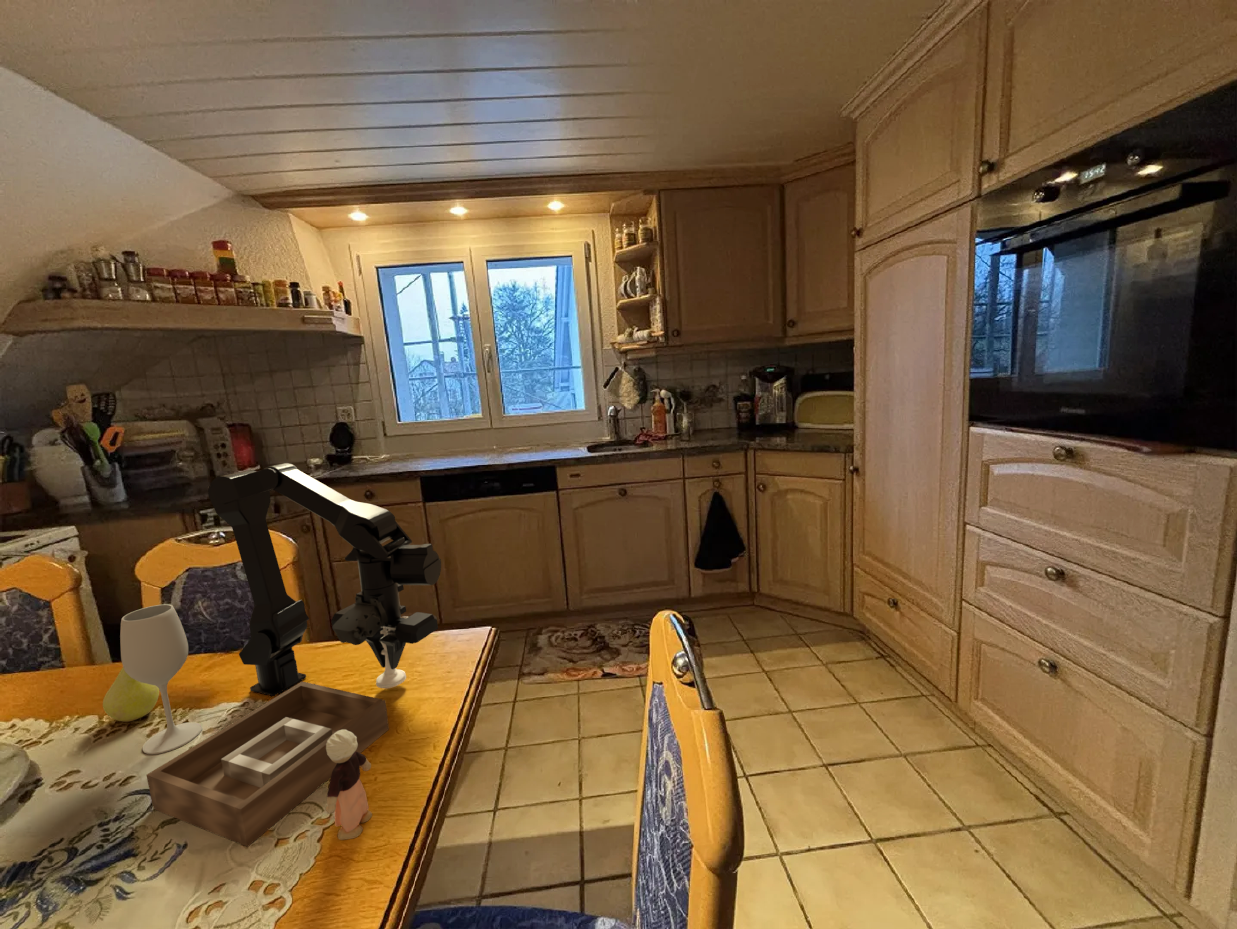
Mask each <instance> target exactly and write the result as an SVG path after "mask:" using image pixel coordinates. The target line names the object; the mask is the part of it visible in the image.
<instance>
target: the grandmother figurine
mask: <svg viewBox="0 0 1237 929" xmlns="http://www.w3.org/2000/svg"><path fill="white" fill-rule="evenodd" d="M357 747H358V743H357V737H356V736H355V735H354V734H353V733H352V732H350V731H347V730H339V731H337V732H335V733H334V734H333V735H332V736H331V737H330V738H329V740H328V741H327V744H326V751H327V755H328V756H329V757H330V759H331V760H332V761H333V762H335V763H337V764H336V766H335V768H334V769H333V771H332V774H331V778H330V780H329V785H328V789H327V793H326V794H327V795H326V797H327V798H326V807H325V812H326V814H333V813H334V826H335V827H337V828H338V827H340V829H339V830H338V833H337V839H338V840H340V841H344V840H349V839H355V838H358V836H361V834H362V832H363V830H364V828H363V826H362V825H360V824H363V823H366V822H368V821H369V820H371V818H372V817H373V813H372V811H370V810H369V803H368V798H367V792H366V789H365V788H364V785H363V783H362V781H361V778H360V777H361V769H362V771H365V772H367V771H370V770H371V768H372V763H371V762H369V760H368V759H367V756H366V755H365V754H362V752H361V753H359V752H356V749H357Z"/></svg>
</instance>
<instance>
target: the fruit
mask: <svg viewBox="0 0 1237 929" xmlns="http://www.w3.org/2000/svg"><path fill="white" fill-rule="evenodd" d="M159 697H160V690H159V688H158V687H157V686H155V685H150V684H146V683H142V682H139V681H137V680H135V679H133V678H131V677H130V676H129V675H128V674H127V673H126V672H125V670H124V667H123V666H122V668H121V670H120V671H119V673H118V675H117V676H116V678H115V679H114V681H113V683H112V684H111V686H110V688H109V689H108V690H107V692H106V694H105V695H104V697H103V701H102V708H103V711H104V712H105V714H107V716H108V717H110V718H112V719H113V720H114V721H115V720H116V721H119V722H133V721H136V720H138V719H139V720H140V719H141V718H143V717H144V716H146V715H148V714H149V713H150V712H151V711H152V710H153V708H154V707H155V706H156V704H157V702H158V699H159Z"/></svg>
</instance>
